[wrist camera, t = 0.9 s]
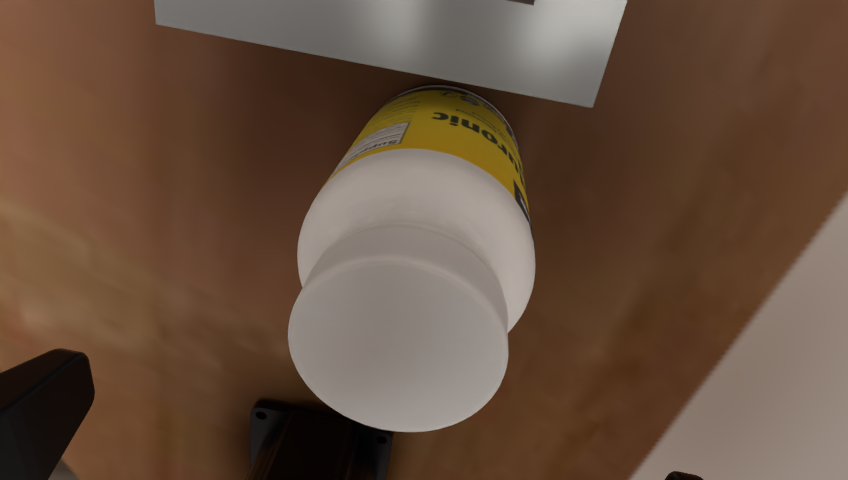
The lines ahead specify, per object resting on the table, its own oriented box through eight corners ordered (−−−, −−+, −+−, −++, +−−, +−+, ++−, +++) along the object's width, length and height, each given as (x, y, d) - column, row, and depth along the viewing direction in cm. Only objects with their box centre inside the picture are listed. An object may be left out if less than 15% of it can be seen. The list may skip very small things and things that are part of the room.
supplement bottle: (551, 184, 18) (605, 402, 9) (420, 256, 20) (368, 492, 11) (462, 43, 16) (431, 158, 8) (327, 139, 18) (182, 315, 10)
